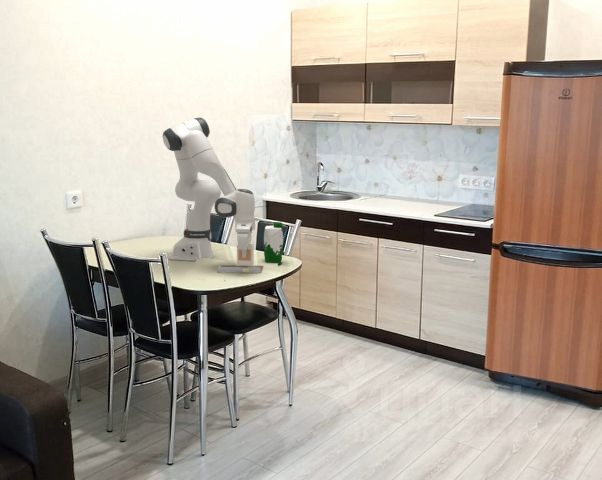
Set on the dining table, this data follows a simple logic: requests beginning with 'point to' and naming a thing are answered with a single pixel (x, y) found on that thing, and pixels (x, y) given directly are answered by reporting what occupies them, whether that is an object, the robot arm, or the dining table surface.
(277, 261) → the milk carton
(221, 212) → the robot arm
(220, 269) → the rail
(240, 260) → the carton
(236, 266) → the shelf board
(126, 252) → the dining table surface
